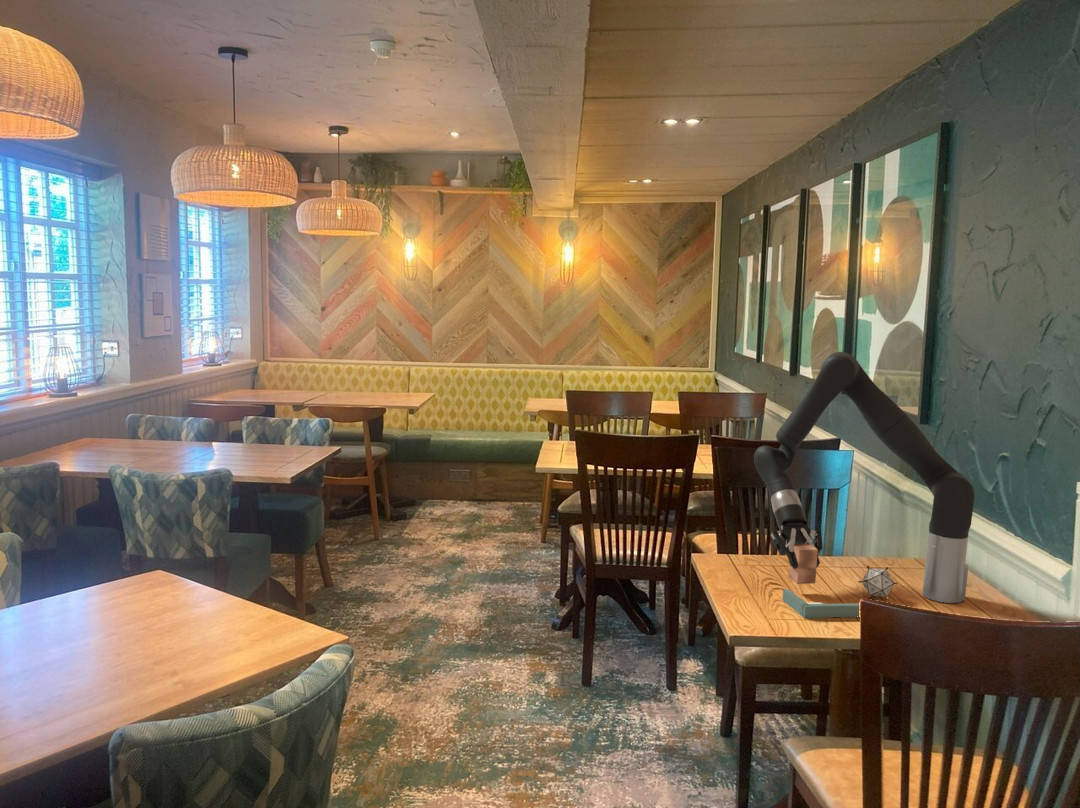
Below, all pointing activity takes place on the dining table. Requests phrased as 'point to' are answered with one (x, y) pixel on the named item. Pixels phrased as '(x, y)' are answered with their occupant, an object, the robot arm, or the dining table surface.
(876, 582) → the game die
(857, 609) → the wall
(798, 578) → the terracotta block
